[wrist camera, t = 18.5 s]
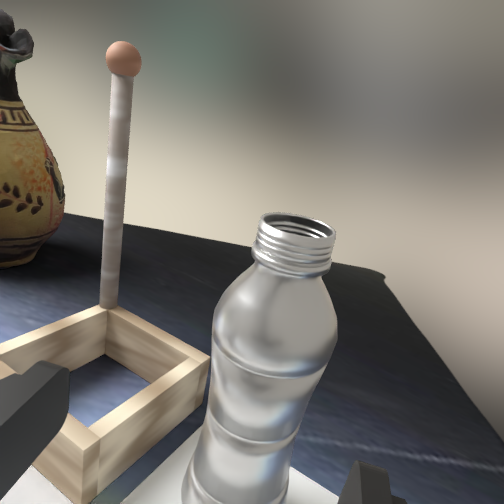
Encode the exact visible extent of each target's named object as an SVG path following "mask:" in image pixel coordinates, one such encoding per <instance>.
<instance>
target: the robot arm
mask: <svg viewBox="0 0 504 504" xmlns="http://www.w3.org/2000/svg"><path fill="white" fill-rule="evenodd" d="M69 383H70V371H69V369H68V368H66V367H63V366H60V365H57V364H53V363H50V362H47V361H44V360H41V361H38V362H37V363H35V364H34V365H33V366H32V367H30V368H29V369H28V370H27V371H26V372H24V373H23V374H22V375H20V374H17V373H14V374H11V375H9V376H7V377H5V378H3V379H0V500H1V499H2V498H3V497H4V496H5V495H6V493H7V492H8V491H9V490H10V489H11V487H12V486H13V485H14V484H15V483H16V482H17V480H18V479H19V478H20V477H21V476H22V475H23V473H24V472H25V471H26V470H27V469H28V468H29V466H30V465H31V464H32V463H33V462H34V461H35V459H36V458H37V457H38V456H39V455H40V454H41V452H42V451H43V450H44V449H45V448H46V447H47V445H48V444H49V443H50V442H51V441H52V440H53V438H54V437H55V436H56V435H57V434H58V432H59V431H60V430H61V428H62V426H63V424H64V422H65V420H66V417H67V414H68V409H69ZM337 504H407V502H406V501H405V499H402V498H399V497H396V496H393V495H391V491H390V484H389V477H388V473H387V470H386V469H384V468H380V467H377V466H374V465H371V464H368V463H365V462H361V461H358V460H356V461H355V462H354V463H353V466H352V468H351V470H350V473H349V475H348V478H347V480H346V483H345V485H344V488H343V490H342V492H341V495H340V497H339V500H338V503H337Z"/></svg>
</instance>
